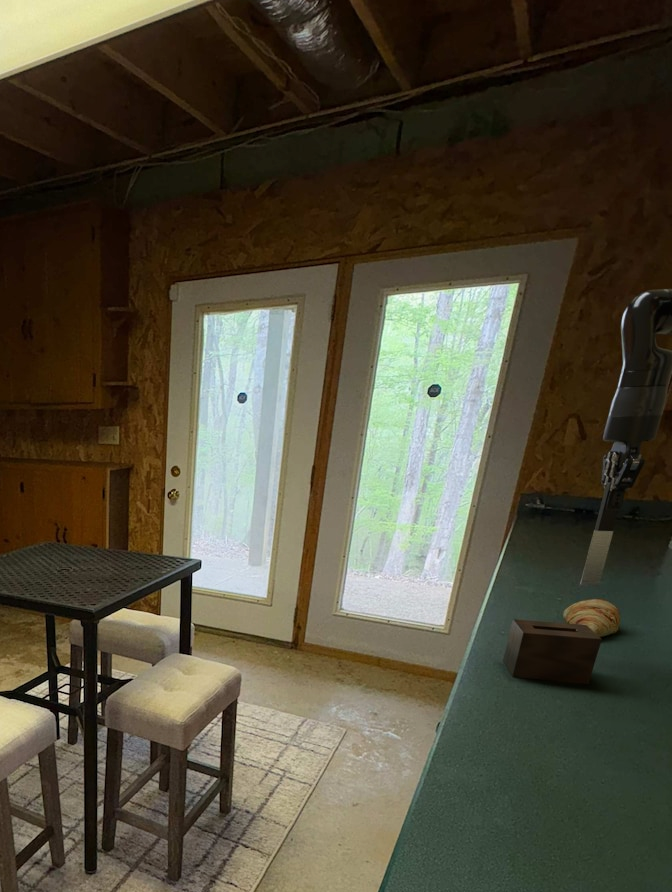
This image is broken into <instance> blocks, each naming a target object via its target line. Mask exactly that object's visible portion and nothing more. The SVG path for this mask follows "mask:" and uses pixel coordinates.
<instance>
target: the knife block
mask: <svg viewBox="0 0 672 892" xmlns="http://www.w3.org/2000/svg"><path fill="white" fill-rule="evenodd" d="M602 640H603V639H602V638H601V637H599V636H598V635H597V634H596V633H594V632H593V631H592V630H591V629H590V628H589V627H588V626H587V625H581V624H568V623H566V622H552V621H540V620H525V619H515V618H514V619H512V621H511V626H510V629H509V633H508V638H507V641H506V646H505V649H504V654H503V657H502V662H503V664H504V665H505V667H506V668H507V670H508V672H509V674H510V675H511V676H512V678H522V679H523V678H524V679H533V680H541V681H550V682H552V681H553V682H561V683H562V682H563V683H571V684H580V685H581V684H582V685H589V683H590V680H591V677H592V674H593V670H594V667H595V663H596V660H597V656H598V654H599V650H600V647H601V644H602Z"/></svg>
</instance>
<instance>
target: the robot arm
mask: <svg viewBox="0 0 672 892" xmlns="http://www.w3.org/2000/svg"><path fill="white" fill-rule="evenodd" d="M620 334H621V335H620V336H621V349H622V350H621V351H622V353H621V354H622V367H621V371H620V375H619V378H618V383H617V388H616V390H615V393H614V396H613V398H612V400H611V403H610V408H609V412H608V416H607V419H606V423H605V428H604V431H603V435H602V440H603V441H604V442H611V443H612V442H613V444H612V447H611V449H610V451H608V453H607V454H604V455H603V457H602V471H601V480H600V481H601V485H603V489H605V487H606V483H607V482H611V486H610V491H609V495H608V499H607V503H606V507H605V509H606V510H607V511H618V512H619V511H621V509H622V505H623V502H624V498H625V494H626V491H628V490H629V489H632V488H633V487H634V485H635V483H636V481H637V480H638V477H639V475H640V473H641V471H642V469H643V467H644V465H645V463H646V458H642V456H643V455H642V453H643V452H642V443H643V442H652V441H654V440H655V439H656V438H657V434H658V431H659V427H660V424H661V420H662V418H663V417H662V416H663V413H664V410H665V407H666V402H667V397H668V390H669V385H670V381H671V377H672V350H670V349H667V348H661V347H659V346H658V344H657V340H656V336H661V335H662V336H663V335H672V288H667V289H666V288H664V289H649V290H645V291H642V292H639V293H638V294H637V295H636V296H634V297H633V298H632V300H630V302H629V303H628V304H627V305H626V308H625V309H624V311H623V314H622V317H621V322H620Z"/></svg>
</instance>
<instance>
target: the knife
mask: <svg viewBox="0 0 672 892" xmlns="http://www.w3.org/2000/svg"><path fill="white" fill-rule="evenodd" d="M610 486H611V482H607V483H606V487H605V488H604V492H603V495H602V499H601V503H600V506H599V511H598V515H597V519H596V522H595V526H594V529H593V533H592V536H591V541H590V544H589V548H588V552H587V556H586V559H585V563H584V567H583V571H582V575H581V578H580V579H581V580H580V583H579V585H581V586H595V587H596V586H598V587H599V586H600V582H601V580H602V576H603V572H604V569H605V565H606V560H607V557H608V554H609V549H610V546H611V542H612V538H613V534H614V531H615V530H614V529H615V527H616V523H617V519H618V516H619V515H618V514H619V511H607V510H606V509H605V507H606V503H607V499H608V495H609V491H610Z"/></svg>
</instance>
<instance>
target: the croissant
mask: <svg viewBox="0 0 672 892" xmlns="http://www.w3.org/2000/svg"><path fill="white" fill-rule="evenodd" d="M562 613H563V615H562V618H563V620H564V621H565V623H568V624H581V625H587V626H588V627H589V628H590V629H591V630H592V631H593V632H594V633H596V634H597V635H598V636H599V637H600V638H601V637H605V636H609V635H611V634H615V633H617V632H618V631H619V628H620V623H621V614H620V610H618V608H617V607H616V606H615V605H614V604H613V603H611V602H609V601H607V600H606V599H600V598H591V599H584V600H581V601H577V602H575V603H572V604H571V605H570V606H568V607H566V608H565V609H564V611H563V612H562Z"/></svg>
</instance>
